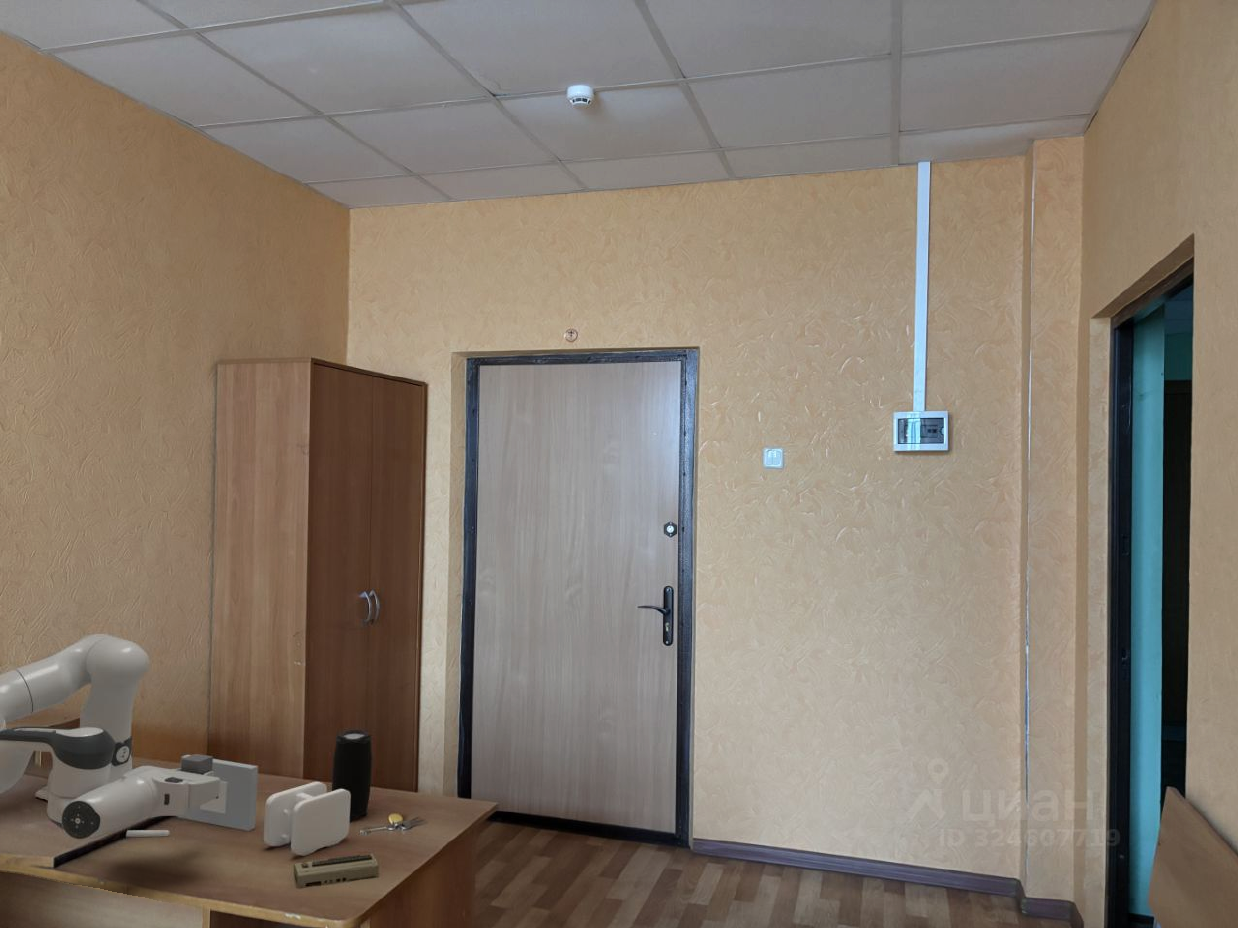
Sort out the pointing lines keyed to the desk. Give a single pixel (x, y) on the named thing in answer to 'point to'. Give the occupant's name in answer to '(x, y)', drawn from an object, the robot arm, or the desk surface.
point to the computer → (335, 870)
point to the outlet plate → (230, 797)
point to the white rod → (147, 833)
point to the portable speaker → (353, 769)
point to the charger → (197, 763)
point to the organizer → (307, 818)
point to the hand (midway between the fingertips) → (199, 772)
